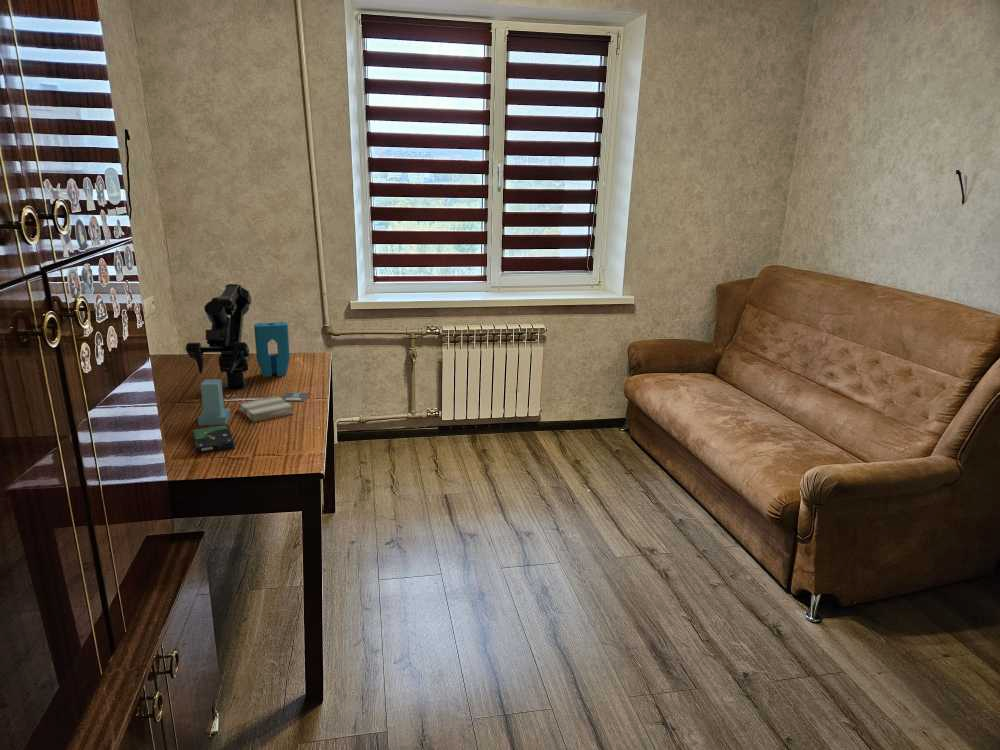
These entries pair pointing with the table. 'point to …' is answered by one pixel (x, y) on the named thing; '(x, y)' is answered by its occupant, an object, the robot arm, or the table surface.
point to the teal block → (213, 404)
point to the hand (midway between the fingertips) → (215, 372)
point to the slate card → (295, 397)
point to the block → (281, 360)
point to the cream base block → (266, 408)
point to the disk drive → (213, 439)
